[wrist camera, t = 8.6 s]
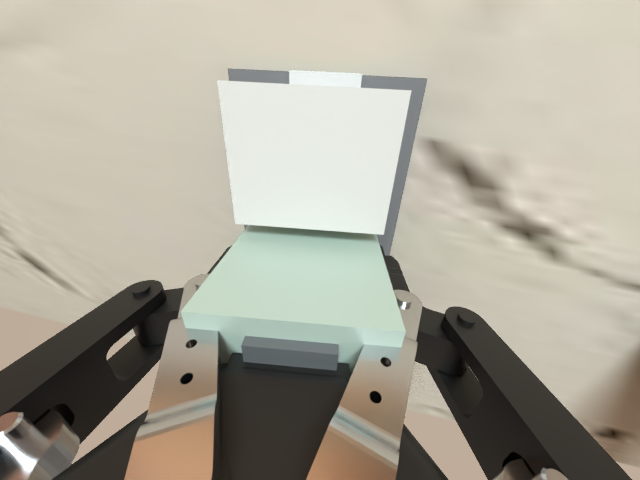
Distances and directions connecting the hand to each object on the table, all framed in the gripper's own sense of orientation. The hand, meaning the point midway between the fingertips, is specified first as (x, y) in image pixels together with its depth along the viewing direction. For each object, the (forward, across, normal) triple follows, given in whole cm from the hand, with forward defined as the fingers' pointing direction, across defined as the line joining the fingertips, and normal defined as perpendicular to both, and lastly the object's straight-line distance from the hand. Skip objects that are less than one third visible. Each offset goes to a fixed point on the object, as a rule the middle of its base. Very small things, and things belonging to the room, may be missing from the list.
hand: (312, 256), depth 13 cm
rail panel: (+5, 0, 0) cm, 5 cm away
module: (+1, 0, 0) cm, 1 cm away
